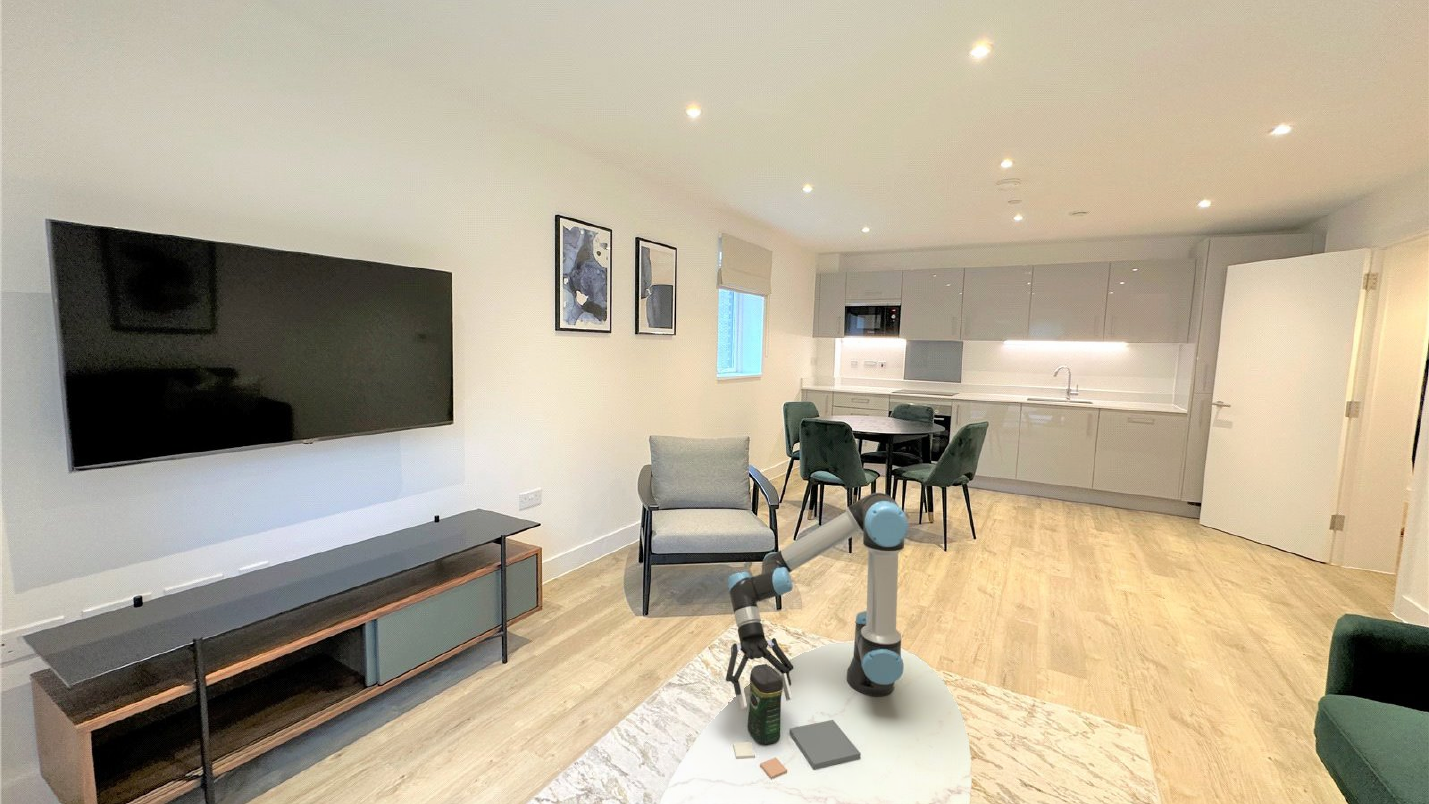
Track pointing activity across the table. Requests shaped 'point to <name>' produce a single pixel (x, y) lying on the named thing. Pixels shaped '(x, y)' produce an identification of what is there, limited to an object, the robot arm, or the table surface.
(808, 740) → the slate plate
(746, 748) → the tile
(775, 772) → the tile
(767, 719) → the coffee jar
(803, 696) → the table surface
